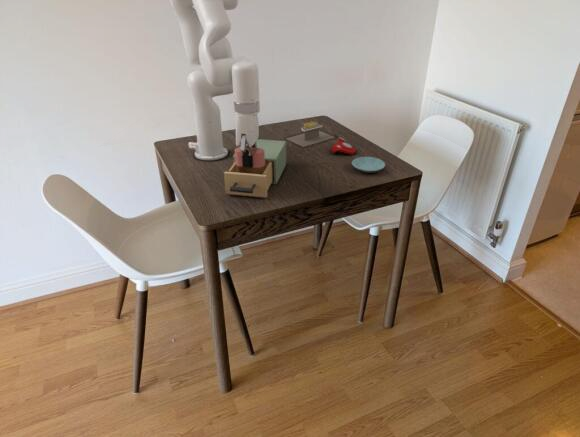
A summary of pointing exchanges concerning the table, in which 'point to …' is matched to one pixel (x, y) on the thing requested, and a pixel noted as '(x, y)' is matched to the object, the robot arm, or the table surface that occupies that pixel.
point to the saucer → (368, 164)
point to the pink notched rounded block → (256, 153)
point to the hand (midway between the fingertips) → (250, 163)
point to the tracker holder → (343, 147)
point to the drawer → (249, 180)
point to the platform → (310, 135)
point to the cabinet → (273, 155)
